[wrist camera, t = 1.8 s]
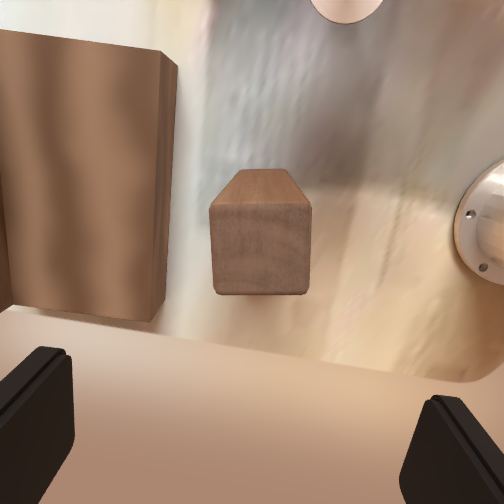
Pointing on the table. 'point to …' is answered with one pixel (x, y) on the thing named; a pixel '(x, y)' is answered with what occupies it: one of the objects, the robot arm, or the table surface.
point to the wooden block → (261, 235)
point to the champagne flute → (346, 9)
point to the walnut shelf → (84, 175)
